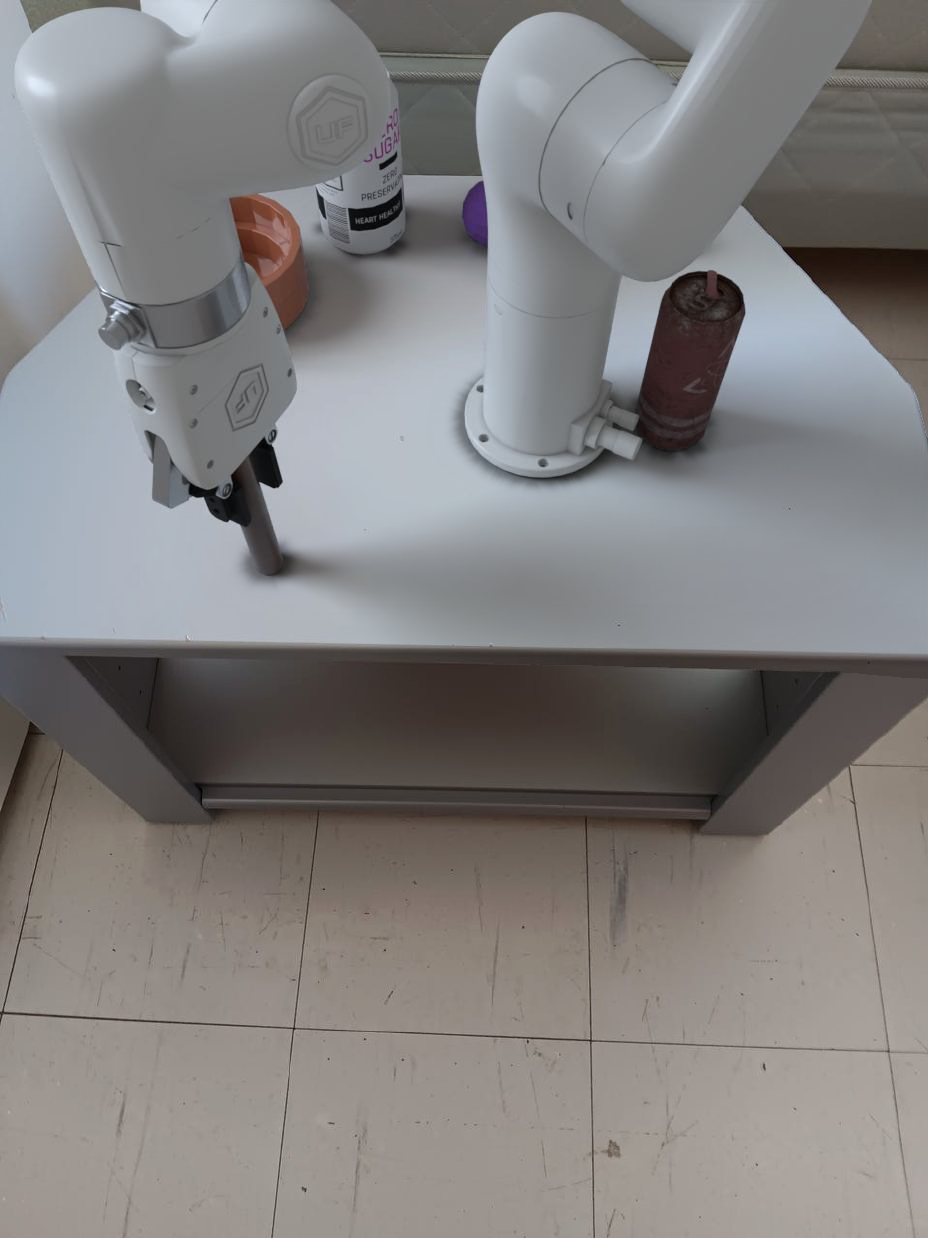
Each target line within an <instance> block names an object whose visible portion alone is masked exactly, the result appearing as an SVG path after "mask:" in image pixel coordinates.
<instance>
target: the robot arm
mask: <svg viewBox="0 0 928 1238" xmlns="http://www.w3.org/2000/svg"><path fill="white" fill-rule="evenodd" d="M618 1H619V2H620V3H621V4H623V5H624V6H625V7H626V8H627V9H628V10H630V11H631V12H632V13H634V14H635V15H636V16H638V17H639V18H640V19H641V20H642V21H644V22H645V23H647V25H649V26H651V27H652V28H653V29H655V30H656V31H658V32H659V33H660V34H662V35H663V36H665V37H666V38H668V39H669V40H671V41H672V42H673V43H675V44H676V45H677V46H679V47H680V48H682V49H683V50H684V51H686V52H687V53H689V54H690V55H691V58H690V59H689V62H688V64H687V66H686V68H685V69H684V72H683V74H682V76H681V78H680V79H679V81H677V80H676V79H674V78H673V77H671V76H670V75H669V74H667V73H666V71H663V70H662V69H661V68H660V67H659V65H657V64H656V63H655V62H653V61H652V60H650V59H649V58H648V57H646V55H643V54H642V53H641V52H640V51H638V50H637V49H636V48H635V47H633V46H631V45H630V44H629V43H627V42H626V41H625V40H623V39H622V38H620V37H619V36H618V35H616V34H615V33H614V32H612V31H610V30H609V29H607V28H605V27H604V26H602V25H601V24H599V23H598V22H595V21H593V20H591V19H588V18H586V17H584V16H582V15H578V14H576V13H570V12H562V11H550V12H543V13H539V14H536V15H533V16H531V17H529V18H526V19H524V20H522V21H520V22H519V23H518V24H517V25H515V26H514V27H513V28H512V29H510V30H509V31H508V32H507V33H506V34H505V35H504V36H503V37H502V39H501V40H500V41H499V42H498V43H497V45H496V46H495V48H494V49H493V51H492V53H491V54H490V57H489V58H488V60H487V63H486V65H485V67H484V69H483V73H482V75H481V78H480V81H479V86H478V90H477V91H478V92H477V95H476V106H475V133H476V135H475V136H476V143H477V152H478V158H479V165H480V170H481V175H482V176H481V177H482V181H483V182H484V188H485V195H486V203H487V216H488V246H487V264H486V265H487V267H486V289H485V290H486V292H485V321H484V322H485V323H484V330H485V331H484V359H483V362H484V363H483V375H482V377H480V379H478V380H477V381H476V383H474V385H473V386H472V388H471V390H470V391H469V392H468V396H467V398H466V401H465V406H464V427H465V430H466V433H467V437H468V439H469V441H470V442H471V444H472V446H473V448H474V449H475V450H476V451H477V452H478V453H479V454H480V456H481V457H483V458H484V459H485V460H487V461H488V462H489V463H491V464H492V465H494V466H496V467H497V468H499V469H501V470H504V471H505V472H509V473H512V474H514V475H517V476H522V477H530V478H553V477H561V476H564V475H568V474H571V473H574V472H577V471H578V470H580V469H583V468H585V467H587V466H588V465H590V463H592V462H593V461H595V459H596V460H597V458H598V457H599V456H600V455H601V454H602V452H603V451H604V450H605V449H606V450H608V451H611V452H612V453H613V454H615V455H618V456H620V457H623V458H625V459H628V460H630V461H634V460H635V458H636V457H637V455H638V453H639V451H640V449H641V445H642V442H643V438H642V437H641V436H637V435H635V434H632V433H631V432H630V433H629V432H627V431H625V430H622V429H621V430H619V429H617V428H615V427H614V426H613V425H614V424H617V425H618V426H619V427H622V428H625V429H627V430H630V431H634V430H635V429H636V425H637V422H638V420H639V415H637V414H635V412H633V411H630V410H628V409H622V408H620V407H617V406H615V402H614V401H613V400H611V399H610V398H611V397H610V396H611V392H612V386H613V383H612V382H611V381H609V380H606V379H603V378H604V373H605V368H606V367H605V366H606V361H607V357H608V351H609V345H610V339H611V335H612V328H613V324H614V319H615V313H616V307H617V303H618V298H619V297H618V296H619V291H620V286H621V282H622V277H623V276H624V277H625V278H628V279H630V280H632V281H635V282H636V281H637V282H640V283H653V282H655V283H656V282H660V281H663V280H667V279H670V278H671V277H673V276H676V274H679V273H680V272H682V271H683V270H685V269H686V268H687V267H689V266H690V265H692V264H693V263H694V262H695V261H696V260H697V259H698V258H699V257H700V256H701V255H702V254H703V253H704V252H705V251H706V250H707V249H708V248H709V246H710V245H711V244H713V242H714V241H715V240H716V239H717V237H718V236H719V235H720V234H721V232H722V231H723V229H724V228H725V227H726V226H727V224H728V223H729V221H730V220H731V219H732V217H733V216H734V214H735V213H736V212H737V211H738V209H739V207H740V206H741V205H742V204H743V202H744V201H745V199H746V198H747V196H748V195H749V194H750V192H751V190H752V189H753V188H754V186H755V185H756V183H757V182H758V181H759V180H760V178H761V176H762V174H764V173H765V170H766V169H767V167H768V166H769V165H770V163H771V162H772V161H773V159H774V157H775V156H776V155H777V153H778V152H779V151H780V150H781V147H782V146H783V145H784V143H785V142H786V140H787V139H788V137H789V136H790V134H791V133H792V132H793V130H794V128H795V127H796V126H797V124H798V123H799V121H800V120H801V119H802V118H803V116H804V114H805V113H806V111H808V109H809V107H810V106H811V105H812V104H813V101H814V100H815V98H817V96H818V94H819V93H820V92H821V90H822V89H823V87H824V86H825V84H826V83H827V82H828V80H829V79H830V77H831V76H832V74H833V73H834V71H835V70H836V68H837V66H838V65H839V63H840V62H841V60H842V59H843V57H844V55H845V54H846V53H847V51H848V50H849V48H850V46H851V45H852V43H853V41H854V39H855V37H856V36H857V34H858V32H859V30H860V29H861V27H862V25H863V23H864V20H865V18H866V17H867V14H868V11H869V9H870V7H871V5H872V3H873V0H618ZM139 3H140V4H139V5H140V10H136V9H133V8H129V7H120V6H119V7H118V6H117V7H116V6H104V7H103V6H102V7H92V8H85V9H81V10H77V11H72V12H69V13H66V14H63V15H61V16H58V17H56V18H53V19H51V20H49V21H48V22H46V23H44V24H43V25H41V26H40V27H38V28H37V29H36V30H34V31H33V32H32V33H31V34H30V35H29V36H28V38H27V39H26V40H25V41H24V42H23V44H22V45H21V47H20V49H19V50H18V53H17V56H16V58H15V62H14V68H13V84H14V87H15V88H14V90H15V94H16V98H17V100H18V103H19V106H20V109H21V112H22V114H23V116H24V120H25V121H26V124H27V126H28V129H29V130H30V133H31V135H32V137H33V140H34V142H35V145H36V147H37V150H38V152H39V154H40V157H41V158H42V161H43V164H44V166H45V168H46V170H47V173H48V175H49V178H50V180H51V182H52V184H53V187H54V189H55V192H56V194H57V196H58V198H59V201H60V204H61V206H62V207H63V211H64V212H65V214H66V217H67V220H68V221H69V224H70V226H71V229H72V231H73V234H74V236H75V238H76V241H77V243H78V245H79V248H80V250H81V253H82V254H83V257H84V259H85V261H86V263H87V266H88V268H89V271H90V273H91V275H92V278H93V280H94V282H95V286H96V287H97V289H98V292H99V293H98V294H99V296H100V299H101V302H102V304H103V306H104V307H105V310H106V313H107V314H106V317H105V321H104V323H103V325H101V326H100V327H99V328H98V330H97V333H98V336H99V338H100V339H101V341H102V342H103V343H104V344H105V345H107V346H108V347H109V348H111V351H112V352H111V353H112V357H113V363H114V367H115V372H116V376H117V380H118V384H119V388H120V391H121V395H122V397H123V402H124V404H125V407H126V410H127V413H128V416H129V419H130V421H131V425H132V426H133V429H134V432H135V434H136V436H137V440H138V441H139V444H140V446H141V447H142V449H143V451H144V453H145V455H146V456H147V458H148V460H149V461H150V463H151V464H152V465H153V466H152V486H151V488H152V489H151V500H152V501H153V502H156V503H158V504H160V505H162V506H164V507H165V508H168V509H171V510H172V509H174V508H176V507H178V506H180V505H183V504H184V503H186V502H188V501H190V498H192V497H194V498H196V499H202V498H203V500H204V502H205V504H206V507H207V509H208V512H209V513H210V514H211V516H212V517H214V518H216V519H217V520H219V521H221V522H223V523H229V522H230V521H231V522H232V523H235V524H237V525H239V526H240V525H241V526H243V527H247V526H248V525H249V524H250V523H251V518H252V517H251V514H250V511H249V508H248V505H247V502H246V499H245V496H244V493H243V490H242V488H241V487H240V486H239V485H238V484H236V483H234V482H232V479H231V474H232V473H233V472H234V471H235V470H236V469H237V468H238V467H239V465H240V464H241V463H242V462H243V461H244V460H245V458H246V457H247V456H248V455H249V454H251V457H252V460H253V463H254V467H255V470H256V473H257V476H258V480H259V483H260V484H263V485H265V486H267V487H269V488H271V489H274V490H275V489H279V488H280V487H281V486H282V485H283V482H284V480H283V477H282V473H281V469H280V465H279V462H278V458H277V454H276V451H275V447H273V446H274V445H273V444H274V442H275V441H276V440H277V437H278V434H279V433H278V432H279V430H278V427H277V425H276V423H277V422H278V421H279V419H280V418H281V417H282V415H283V414H284V413H285V411H287V409H288V408H289V406H290V405H291V403H292V402H293V400H294V398H295V396H296V393H297V388H298V381H297V375H296V370H295V366H294V363H293V358H292V355H291V354H292V353H291V351H290V348H289V343H288V341H287V337H286V334H285V331H284V329H283V328H282V325H281V322H280V320H279V317H278V314H277V312H276V309H275V307H274V305H273V302H272V300H271V298H270V296H269V294H268V292H267V290H266V288H265V287H264V285H263V283H262V281H261V280H260V278H259V276H258V274H257V273H256V271H255V270H254V268H253V267H252V266H251V265H249V264H248V263H246V262H245V261H244V257H243V253H242V249H241V245H240V241H239V238H238V234H237V230H236V226H235V222H234V218H233V213H232V209H231V205H230V201H229V198H233V197H239V196H246V195H253V194H259V195H260V194H266V193H273V192H274V193H275V192H280V191H281V192H282V191H288V190H295V189H302V188H307V187H311V186H315V185H316V184H319V183H323V182H326V181H329V180H332V179H335V178H337V177H339V176H341V175H343V174H345V173H347V172H349V171H350V170H352V169H353V168H355V167H357V166H358V165H359V164H360V163H361V162H363V161H364V160H365V159H366V158H367V157H368V156H369V155H370V154H371V153H372V151H373V150H374V149H375V147H376V146H377V144H378V143H379V141H380V140H381V138H382V136H383V134H384V132H385V129H386V126H387V123H388V120H389V116H390V109H391V91H390V82H389V78H388V75H387V71H388V70H387V71H386V69H387V68H385V67H386V66H385V63H384V61H383V58H382V57H381V55H380V53H379V52H378V50H377V48H376V46H375V45H374V44H373V42H372V41H371V40H370V38H369V37H368V35H367V34H365V32H364V31H363V30H362V29H361V28H360V27H359V26H358V25H357V23H356V22H354V20H352V19H351V18H350V16H348V15H347V14H346V13H345V12H344V11H342V9H340V8H339V7H338V6H337V5H336V4H335V3H333V1H331V0H139ZM241 526H240V527H241Z"/></svg>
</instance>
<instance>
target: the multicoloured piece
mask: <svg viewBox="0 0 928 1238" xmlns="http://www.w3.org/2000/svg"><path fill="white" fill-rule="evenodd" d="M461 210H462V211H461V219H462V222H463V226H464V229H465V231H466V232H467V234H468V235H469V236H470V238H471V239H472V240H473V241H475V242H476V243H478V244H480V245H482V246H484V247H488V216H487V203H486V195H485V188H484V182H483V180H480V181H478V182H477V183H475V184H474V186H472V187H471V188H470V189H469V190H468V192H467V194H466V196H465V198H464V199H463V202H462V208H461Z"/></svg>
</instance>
